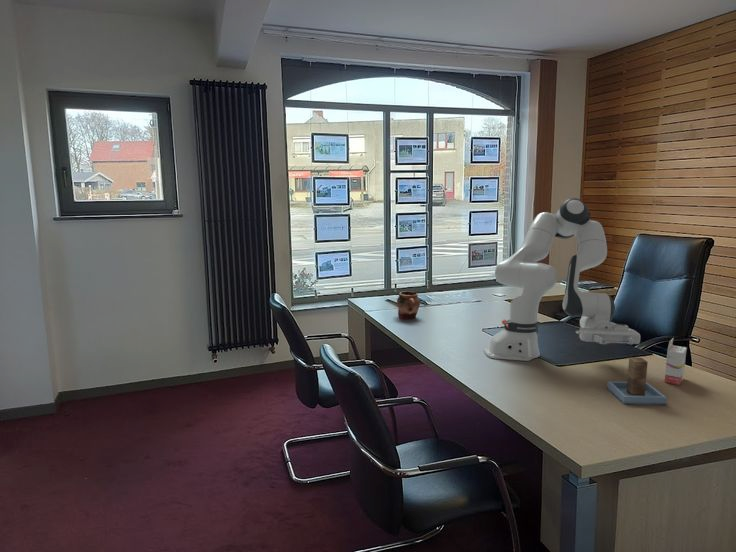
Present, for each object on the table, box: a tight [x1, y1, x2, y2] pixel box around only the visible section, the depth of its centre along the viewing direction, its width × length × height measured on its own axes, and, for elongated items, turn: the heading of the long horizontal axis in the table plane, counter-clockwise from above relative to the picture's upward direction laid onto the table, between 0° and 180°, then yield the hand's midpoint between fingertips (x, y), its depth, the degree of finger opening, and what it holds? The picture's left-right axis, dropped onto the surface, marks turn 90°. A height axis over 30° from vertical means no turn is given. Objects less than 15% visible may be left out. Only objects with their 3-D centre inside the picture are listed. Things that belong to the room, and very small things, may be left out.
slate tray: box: [606, 381, 668, 406], centre depth 164 cm, size 13×13×2 cm
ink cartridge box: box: [664, 337, 688, 386], centre depth 176 cm, size 9×5×15 cm, turn 141°
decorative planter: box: [396, 290, 421, 320], centre depth 269 cm, size 20×12×14 cm, turn 18°
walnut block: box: [626, 357, 648, 396], centre depth 163 cm, size 4×4×12 cm
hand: (617, 341), depth 174 cm, fingers open, 8 cm apart
